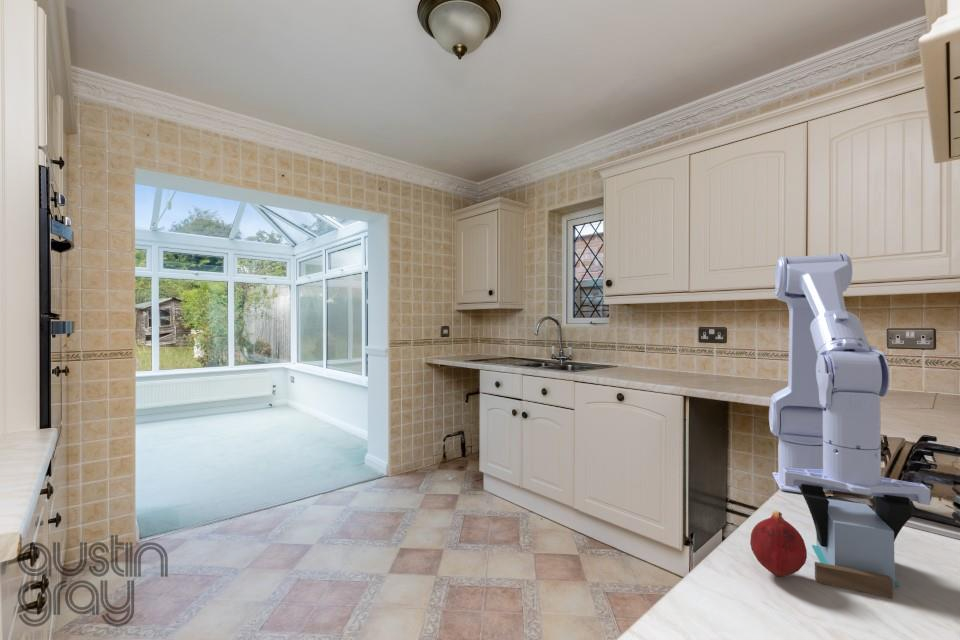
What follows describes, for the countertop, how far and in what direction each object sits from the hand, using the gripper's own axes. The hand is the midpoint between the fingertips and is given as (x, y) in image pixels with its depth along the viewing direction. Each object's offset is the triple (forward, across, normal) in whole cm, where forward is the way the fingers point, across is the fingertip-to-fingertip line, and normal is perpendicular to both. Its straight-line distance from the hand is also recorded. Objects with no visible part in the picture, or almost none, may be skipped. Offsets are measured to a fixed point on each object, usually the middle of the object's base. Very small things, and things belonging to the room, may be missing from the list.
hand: (851, 548), depth 57 cm
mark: (+2, 0, 0) cm, 2 cm away
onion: (+2, -9, -7) cm, 12 cm away
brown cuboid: (+2, -2, -6) cm, 7 cm away
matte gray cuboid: (+2, 0, 0) cm, 2 cm away
